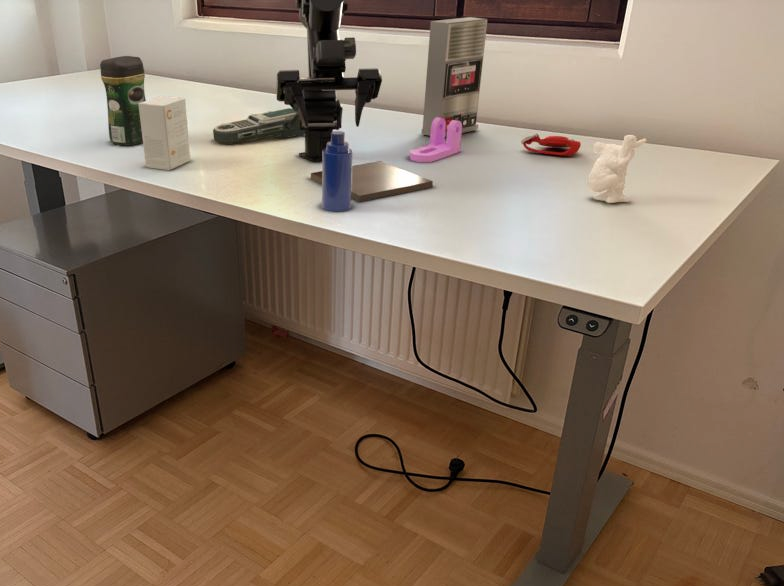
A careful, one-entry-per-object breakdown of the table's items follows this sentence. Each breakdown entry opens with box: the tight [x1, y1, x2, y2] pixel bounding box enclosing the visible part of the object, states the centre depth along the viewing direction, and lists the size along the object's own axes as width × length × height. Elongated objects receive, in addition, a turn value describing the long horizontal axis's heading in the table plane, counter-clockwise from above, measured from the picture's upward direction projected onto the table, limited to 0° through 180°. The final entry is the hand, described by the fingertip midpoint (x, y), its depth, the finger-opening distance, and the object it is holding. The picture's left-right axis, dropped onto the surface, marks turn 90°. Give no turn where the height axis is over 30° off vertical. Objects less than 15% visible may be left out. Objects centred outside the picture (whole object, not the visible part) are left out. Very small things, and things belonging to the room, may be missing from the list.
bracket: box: [409, 117, 463, 163], centre depth 161 cm, size 13×6×7 cm, turn 138°
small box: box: [138, 95, 191, 171], centre depth 154 cm, size 8×6×13 cm
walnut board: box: [310, 160, 434, 203], centre depth 145 cm, size 17×17×1 cm
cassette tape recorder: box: [420, 16, 489, 138], centre depth 174 cm, size 14×6×25 cm, turn 129°
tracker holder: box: [520, 133, 582, 157], centre depth 163 cm, size 12×4×10 cm
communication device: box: [212, 107, 305, 145], centre depth 176 cm, size 12×24×9 cm, turn 117°
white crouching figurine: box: [588, 134, 647, 204], centre depth 132 cm, size 8×7×12 cm
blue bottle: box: [321, 130, 354, 212], centre depth 129 cm, size 5×5×13 cm
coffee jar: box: [99, 55, 147, 146], centre depth 169 cm, size 10×8×19 cm
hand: (332, 126), depth 132 cm, fingers open, 9 cm apart
